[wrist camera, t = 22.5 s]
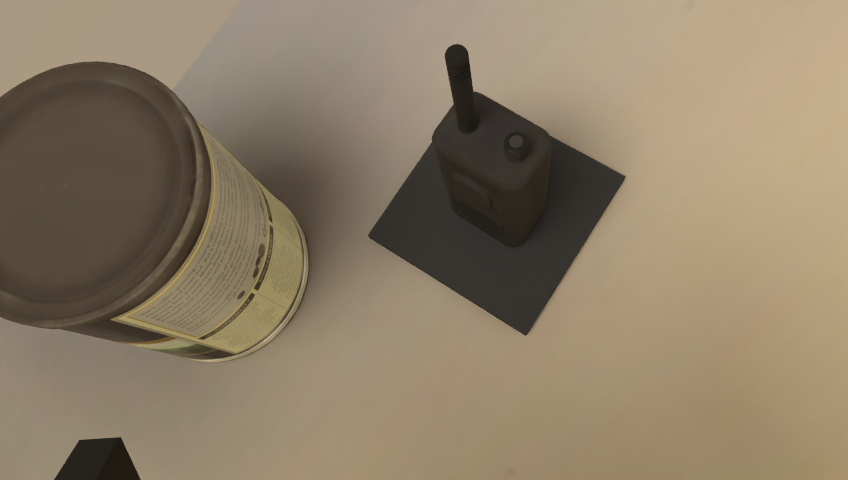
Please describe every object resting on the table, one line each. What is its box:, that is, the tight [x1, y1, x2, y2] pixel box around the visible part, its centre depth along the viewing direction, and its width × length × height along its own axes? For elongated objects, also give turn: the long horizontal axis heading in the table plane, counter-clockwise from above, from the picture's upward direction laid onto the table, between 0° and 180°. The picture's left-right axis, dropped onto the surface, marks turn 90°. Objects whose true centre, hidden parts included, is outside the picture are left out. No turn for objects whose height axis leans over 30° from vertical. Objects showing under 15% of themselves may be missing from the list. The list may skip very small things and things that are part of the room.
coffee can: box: [0, 62, 309, 362], centre depth 33 cm, size 10×10×14 cm
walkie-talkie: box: [432, 44, 552, 247], centre depth 31 cm, size 5×3×15 cm
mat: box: [368, 136, 625, 335], centre depth 38 cm, size 10×10×1 cm
